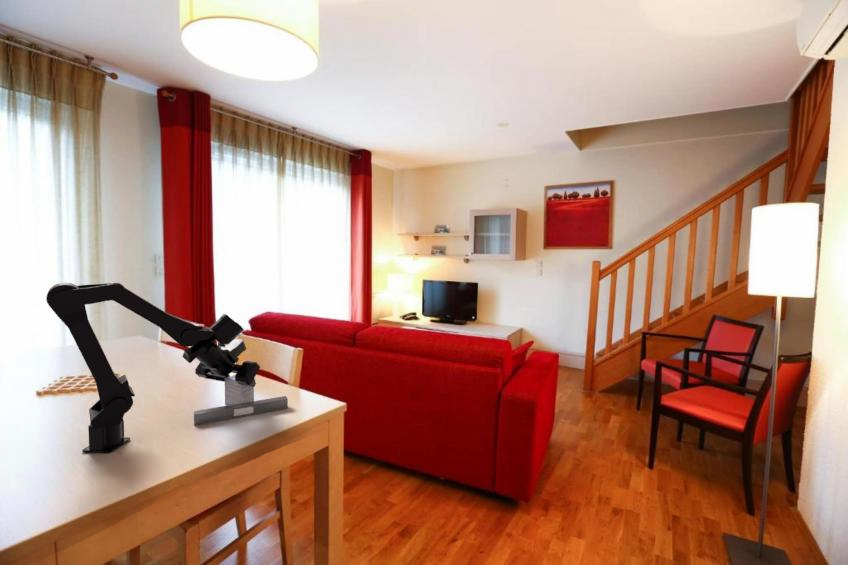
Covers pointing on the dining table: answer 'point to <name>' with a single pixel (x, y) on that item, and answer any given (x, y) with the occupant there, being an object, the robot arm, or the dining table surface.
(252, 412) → the rail
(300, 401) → the dining table surface
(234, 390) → the medicine box
